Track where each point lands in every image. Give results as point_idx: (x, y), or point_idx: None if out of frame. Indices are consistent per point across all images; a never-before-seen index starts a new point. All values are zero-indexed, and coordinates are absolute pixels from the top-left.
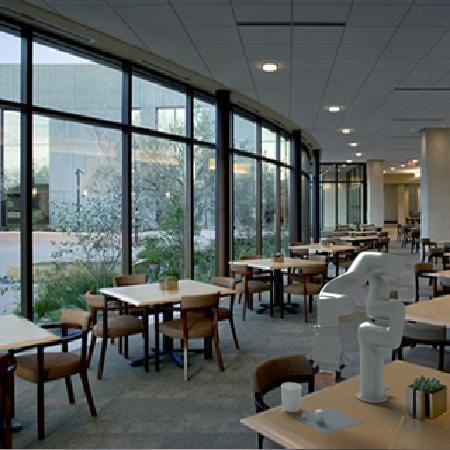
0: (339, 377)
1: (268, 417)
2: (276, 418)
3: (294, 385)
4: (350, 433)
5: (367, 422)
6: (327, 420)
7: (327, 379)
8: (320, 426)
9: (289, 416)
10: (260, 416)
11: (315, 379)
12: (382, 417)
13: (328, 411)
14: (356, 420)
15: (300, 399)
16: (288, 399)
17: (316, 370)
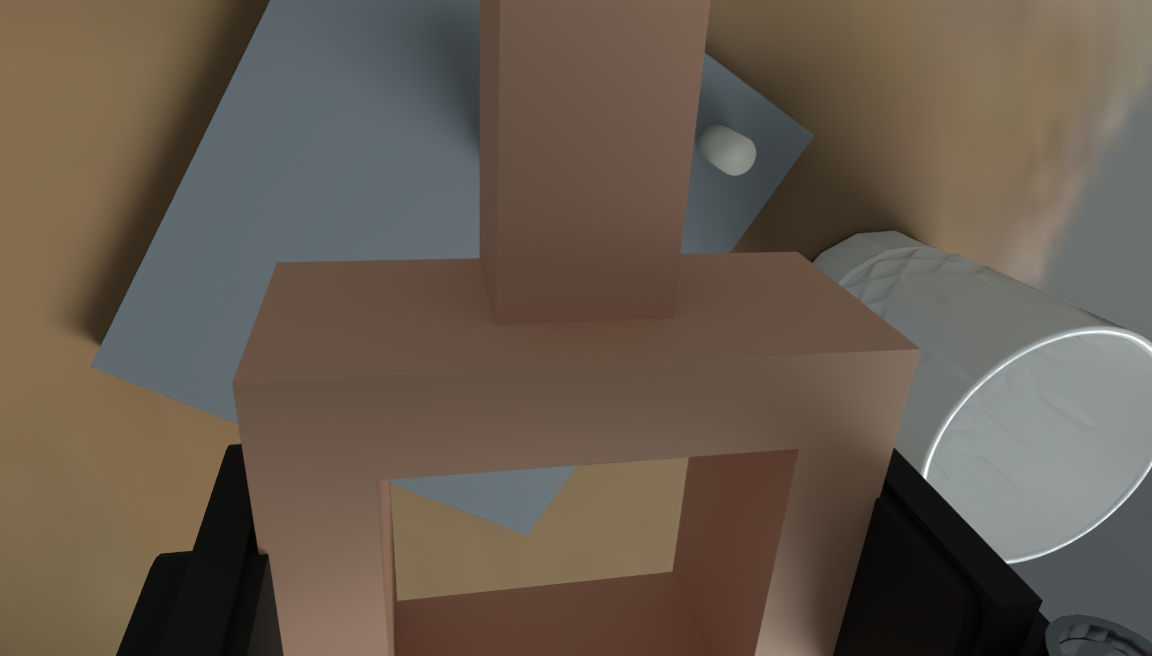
0: (148, 590)
1: (1054, 67)
2: (977, 83)
3: (990, 535)
4: (132, 84)
5: (90, 451)
6: (464, 223)
7: (486, 332)
8: None
9: (860, 196)
10: (1130, 52)
11: (827, 290)
12: (9, 625)
13: None
14: (170, 381)
15: None
16: (981, 279)
17: (935, 556)
